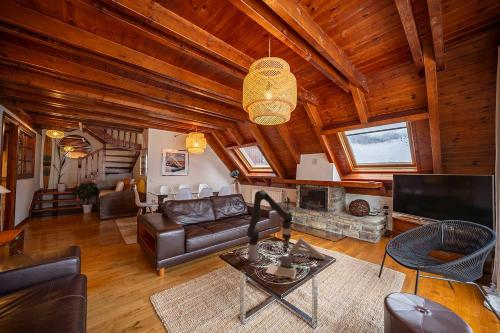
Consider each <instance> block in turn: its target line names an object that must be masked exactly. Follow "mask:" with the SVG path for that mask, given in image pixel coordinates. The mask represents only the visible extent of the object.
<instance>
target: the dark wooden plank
mask: <svg viewBox="0 0 500 333" xmlns="http://www.w3.org/2000/svg"><path fill="white" fill-rule="evenodd" d="M280 258H281V259H280V260H281V262H280V263H281V267H285V268H290V269H292V265H293V263H292V262H293V261H292V259H293V257H292V256H288V255H287V256H286V255H281V256H280Z"/></svg>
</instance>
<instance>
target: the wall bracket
mask: <svg viewBox="0 0 500 333" xmlns="http://www.w3.org/2000/svg"><path fill="white" fill-rule="evenodd" d="M301 246H303V247H304V248H303V247H301ZM305 248H306V249H305ZM295 253H298V254H299V253H302V254H307V255H309V256H312V257H313V258H315V259H317V260H318V259H319V260H325V259H326V256H325V255H324V254H323V253H321V252H320V251H319V250H318V249H317V248H315V247H314V246H313V245H312V244H310V243H309V242H307V241H306V240H305V239H304V238H303V237H300V238H299V239H298V240H297V242H295V244H294V245H293V247H292V248H291V249H290V250H289V251H288V255H293V254H295Z"/></svg>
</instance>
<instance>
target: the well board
mask: <svg viewBox="0 0 500 333" xmlns="http://www.w3.org/2000/svg"><path fill="white" fill-rule="evenodd" d="M297 271H298V270H297V268H296V265H293V264H292V269H290V268H285V267H281V262H279V263H278V265H274V264H273V265H272V264H269V265H268V267H267V269H266V271H265V273H266V274H272V275H277V276H282V277H285V278H291V280H295V278H296V275H297Z"/></svg>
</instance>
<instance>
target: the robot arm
mask: <svg viewBox="0 0 500 333" xmlns="http://www.w3.org/2000/svg"><path fill="white" fill-rule="evenodd" d="M263 200H264V201H266V202H267V203H268V204H269V207H271V209H272V210H273V211H275V212H276V213H277V214H278V215H279V217H281V219H283V221H282V231H281V232H282V234H281V236H282V239H284V240H283V250H284V251H283V252H284V253H285V254H287V253H288V250H289V246H290V245H289V244H290V239H291V235H292V234H291V232H292V231H291V229H292V228H291V223H292V214H293V213H292V212H291V210H289V209H286V210H284V207H283V206H282V205H281V204H279V203H278V202H276V200H274V199H273V198H272V196H270V195H269V193H267V191H265V190H263V189H262V190H261V189H260V190H258V191H256V192H255V194H254V200H253V207H252V212H251V216H250V222H249V225H248V228H247V232H246V235H247V237H248V238H249V240H248V254H247V255H248V261H250V262H253V263H254V262H256V261H258V259H259V250H258V249H259V244H258V243H259V239H260V238H259V236H260V235H259V234H260V233H259V229H258V228H257V227H256V226H257V225H258V223H259V221H260V219H261V216H262V209H261V204H262V201H263Z"/></svg>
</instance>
